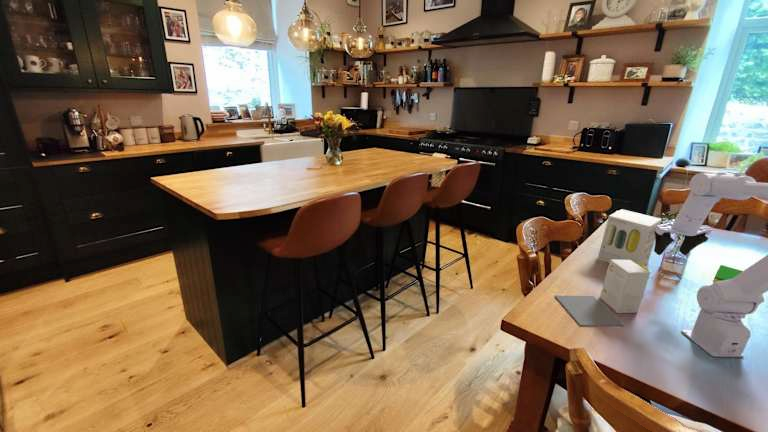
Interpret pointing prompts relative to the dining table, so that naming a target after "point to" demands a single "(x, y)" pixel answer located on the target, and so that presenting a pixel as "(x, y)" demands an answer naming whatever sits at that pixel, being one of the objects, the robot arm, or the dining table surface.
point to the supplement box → (628, 237)
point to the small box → (624, 286)
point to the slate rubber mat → (588, 311)
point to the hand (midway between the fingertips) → (669, 252)
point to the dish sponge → (725, 273)
